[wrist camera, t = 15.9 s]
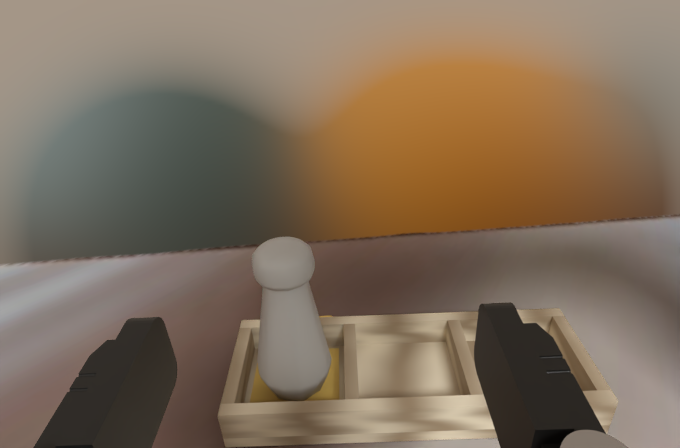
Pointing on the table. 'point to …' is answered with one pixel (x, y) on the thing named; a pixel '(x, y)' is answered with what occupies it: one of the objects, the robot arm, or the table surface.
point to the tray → (389, 383)
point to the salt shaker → (289, 320)
